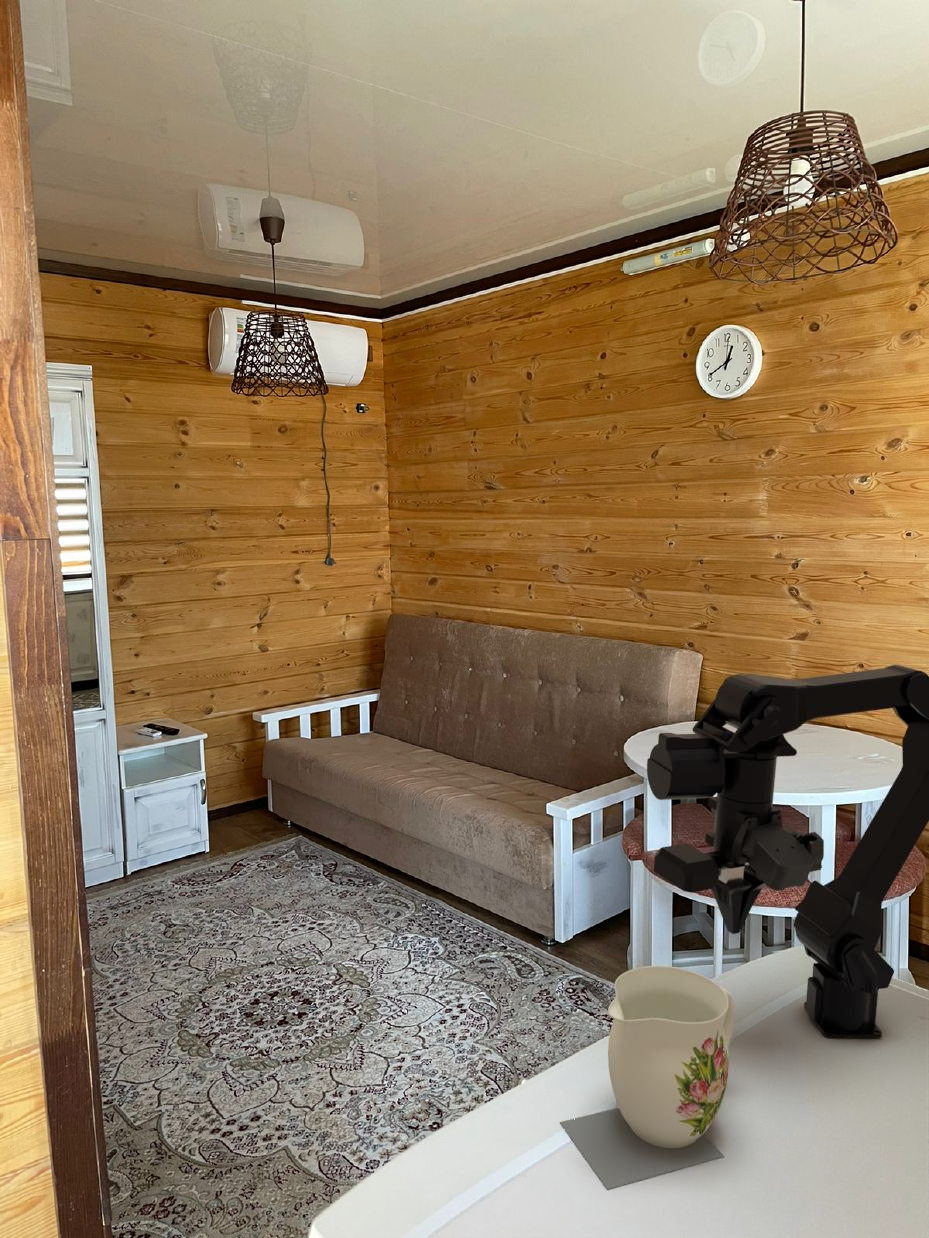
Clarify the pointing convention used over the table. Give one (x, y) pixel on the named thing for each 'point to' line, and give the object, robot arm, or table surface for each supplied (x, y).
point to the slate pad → (630, 1150)
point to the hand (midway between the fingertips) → (733, 931)
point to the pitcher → (669, 1052)
